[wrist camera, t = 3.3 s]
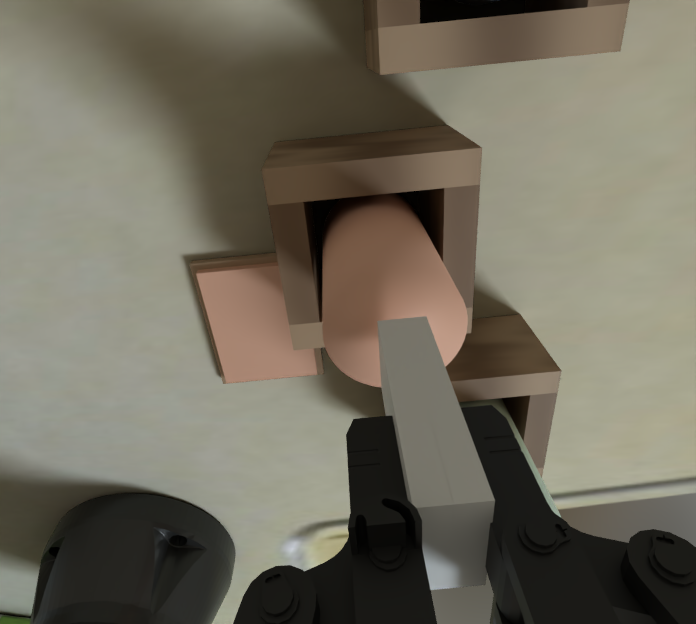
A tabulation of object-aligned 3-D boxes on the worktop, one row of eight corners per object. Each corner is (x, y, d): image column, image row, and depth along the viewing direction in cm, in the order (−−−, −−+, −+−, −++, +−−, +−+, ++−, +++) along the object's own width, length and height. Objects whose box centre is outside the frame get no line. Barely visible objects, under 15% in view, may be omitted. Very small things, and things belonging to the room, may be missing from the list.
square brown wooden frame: (387, 429, 35) (399, 497, 29) (382, 327, 30) (394, 387, 25) (508, 417, 35) (540, 483, 29) (520, 314, 30) (561, 370, 25)
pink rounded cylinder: (328, 284, 25) (330, 393, 17) (317, 192, 22) (313, 271, 15) (420, 275, 25) (464, 380, 17) (420, 182, 22) (471, 257, 15)
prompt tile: (224, 379, 32) (221, 388, 31) (191, 260, 27) (187, 267, 26) (324, 369, 32) (323, 378, 31) (307, 249, 27) (306, 256, 26)
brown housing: (298, 294, 29) (293, 350, 23) (274, 142, 24) (261, 169, 19) (444, 280, 29) (471, 333, 23) (447, 125, 24) (481, 147, 19)
